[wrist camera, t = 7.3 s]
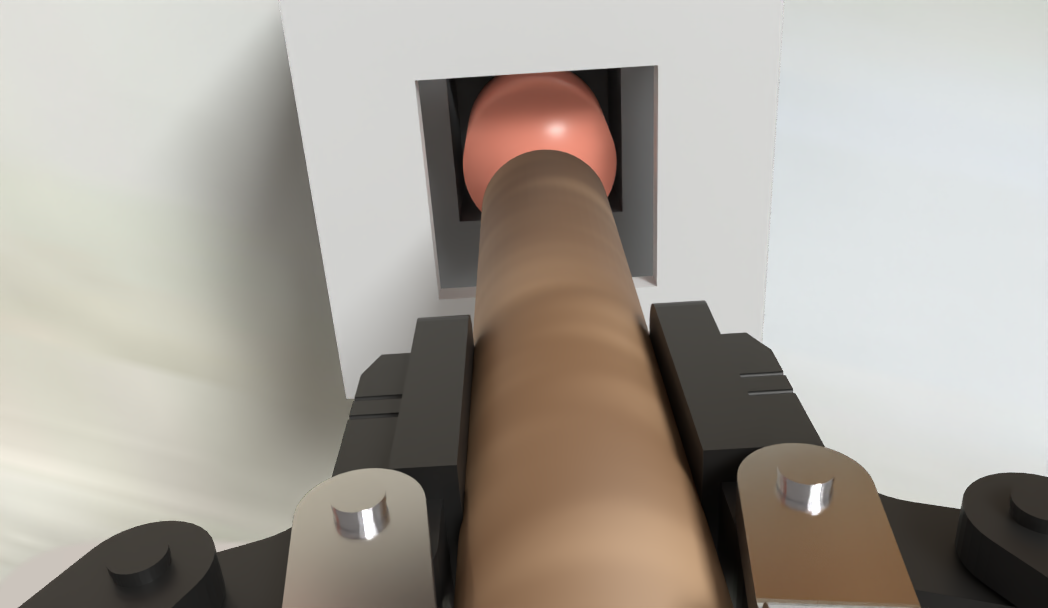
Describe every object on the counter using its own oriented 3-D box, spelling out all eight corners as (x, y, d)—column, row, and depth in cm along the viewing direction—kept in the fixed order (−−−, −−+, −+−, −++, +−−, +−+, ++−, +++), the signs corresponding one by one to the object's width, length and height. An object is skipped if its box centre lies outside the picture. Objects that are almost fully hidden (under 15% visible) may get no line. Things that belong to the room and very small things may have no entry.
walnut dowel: (607, 145, 18) (794, 663, 6) (609, 264, 19) (773, 892, 7) (476, 153, 18) (423, 684, 6) (486, 272, 19) (457, 908, 7)
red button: (602, 58, 23) (616, 83, 20) (605, 192, 25) (617, 233, 22) (462, 66, 23) (456, 93, 20) (473, 200, 25) (469, 241, 22)
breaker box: (704, -93, 25) (788, -75, 17) (696, 245, 29) (760, 374, 22) (341, -69, 25) (271, -41, 17) (387, 264, 29) (346, 399, 22)
